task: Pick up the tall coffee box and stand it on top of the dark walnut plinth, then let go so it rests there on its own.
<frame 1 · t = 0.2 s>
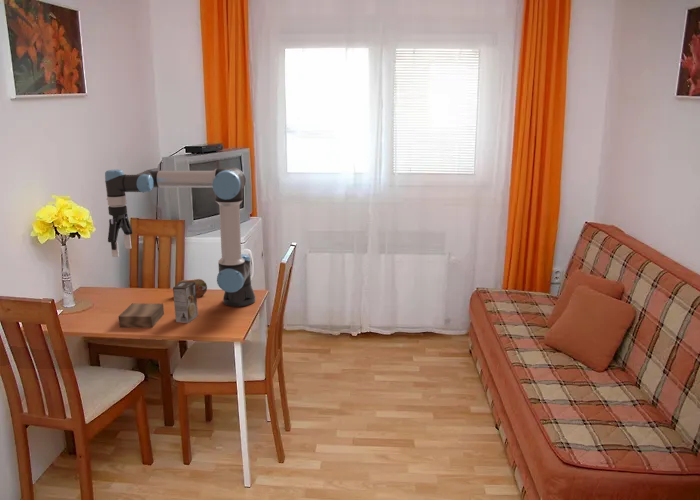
hand: (122, 252, 263), 28 cm above the table, tool pointing down, fingers open, 13 cm apart
walnut plinth: (142, 320, 259), on the table
coffee box: (186, 319, 261), on the table
tin: (191, 296, 291), on the table
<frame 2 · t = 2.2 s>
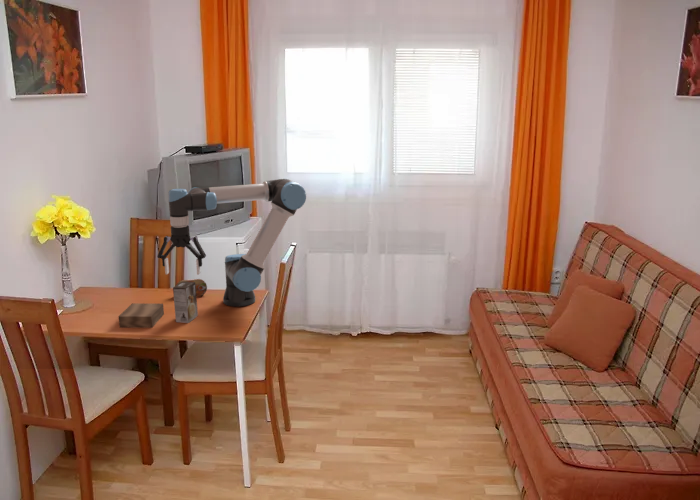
hand: (183, 273, 255), 21 cm above the table, tool pointing down, fingers open, 13 cm apart
nothing on the table moved.
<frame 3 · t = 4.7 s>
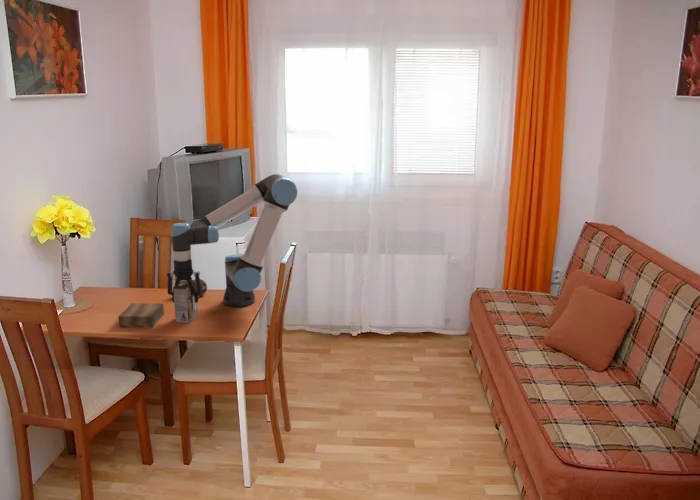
hand: (186, 309, 259), 5 cm above the table, tool pointing down, fingers closed on coffee box, 7 cm apart
coffee box: (186, 319, 261), on the table, touching gripper
everything else where it was.
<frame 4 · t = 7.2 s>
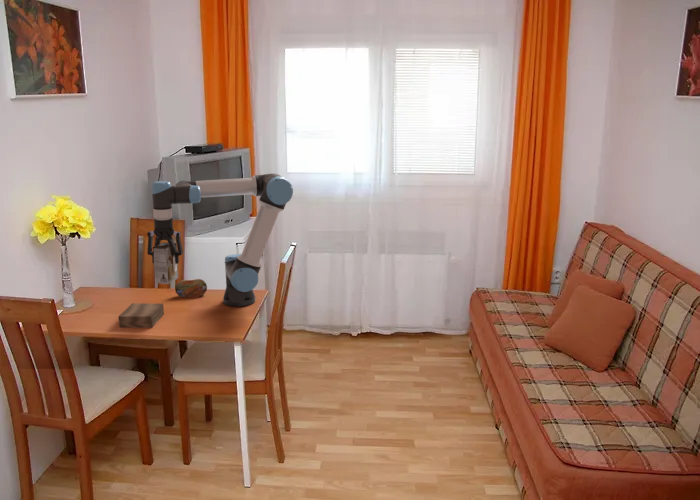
hand: (166, 270, 254), 23 cm above the table, tool pointing down, fingers closed on coffee box, 7 cm apart
coffee box: (167, 281, 255), point 18 cm above the table, touching gripper
everything else where it was.
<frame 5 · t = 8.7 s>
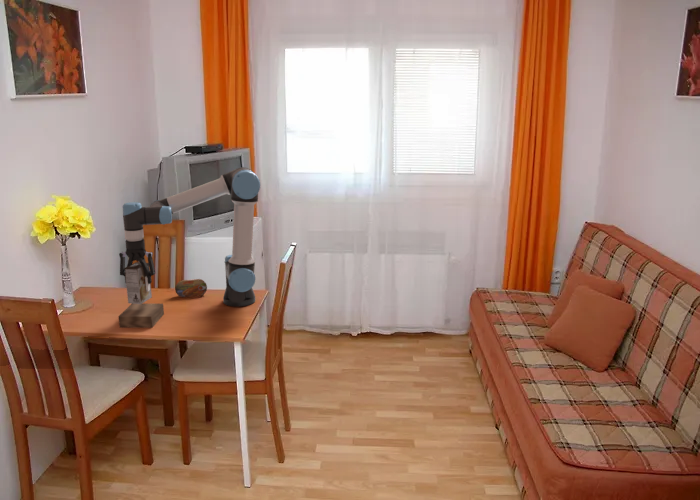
hand: (139, 290, 255), 14 cm above the table, tool pointing down, fingers closed on coffee box, 7 cm apart
coffee box: (140, 300, 256), point 9 cm above the table, touching gripper
everything else where it was.
when the fingers open (11 cm above the table, at t = 10.1 s): coffee box stays where it is, resting on walnut plinth.
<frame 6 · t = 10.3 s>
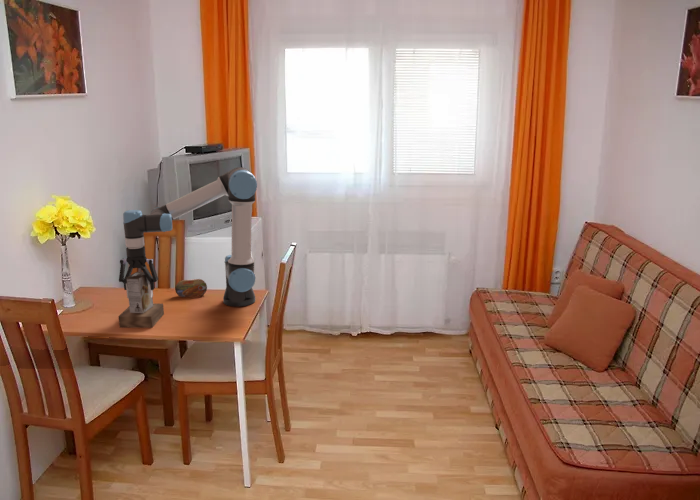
hand: (140, 296, 256), 11 cm above the table, tool pointing down, fingers open, 9 cm apart
coffee box: (141, 310, 257), point 5 cm above the table, touching walnut plinth
everything else where it was.
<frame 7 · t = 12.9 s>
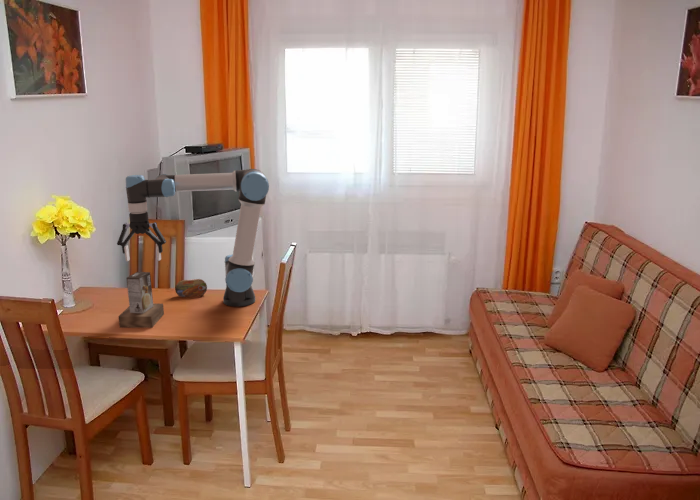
hand: (143, 260, 255), 27 cm above the table, tool pointing down, fingers open, 13 cm apart
nothing on the table moved.
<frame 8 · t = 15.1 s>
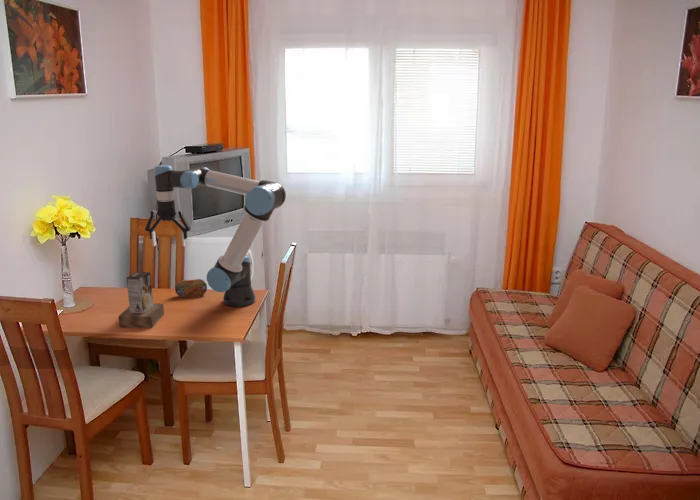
hand: (169, 245, 271), 29 cm above the table, tool pointing down, fingers open, 13 cm apart
nothing on the table moved.
at the end: coffee box inside the target area on the walnut plinth (0.2 cm from its centre), point 4.8 cm above the walnut plinth's base; coffee box tilted 0°; the gripper is holding nothing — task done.
